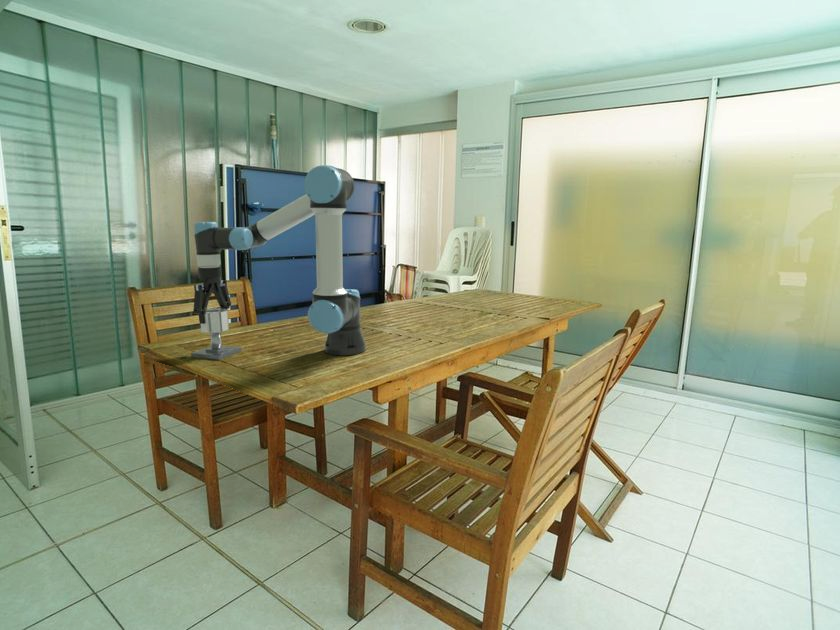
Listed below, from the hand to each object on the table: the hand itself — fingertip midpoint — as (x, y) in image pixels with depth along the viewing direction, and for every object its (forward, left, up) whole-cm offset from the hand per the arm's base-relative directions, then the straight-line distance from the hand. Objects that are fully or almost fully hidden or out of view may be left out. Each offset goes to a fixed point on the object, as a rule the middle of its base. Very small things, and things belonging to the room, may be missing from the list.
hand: (214, 329), depth 177 cm
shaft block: (0, 0, -9) cm, 9 cm away
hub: (0, 0, 0) cm, 0 cm away
